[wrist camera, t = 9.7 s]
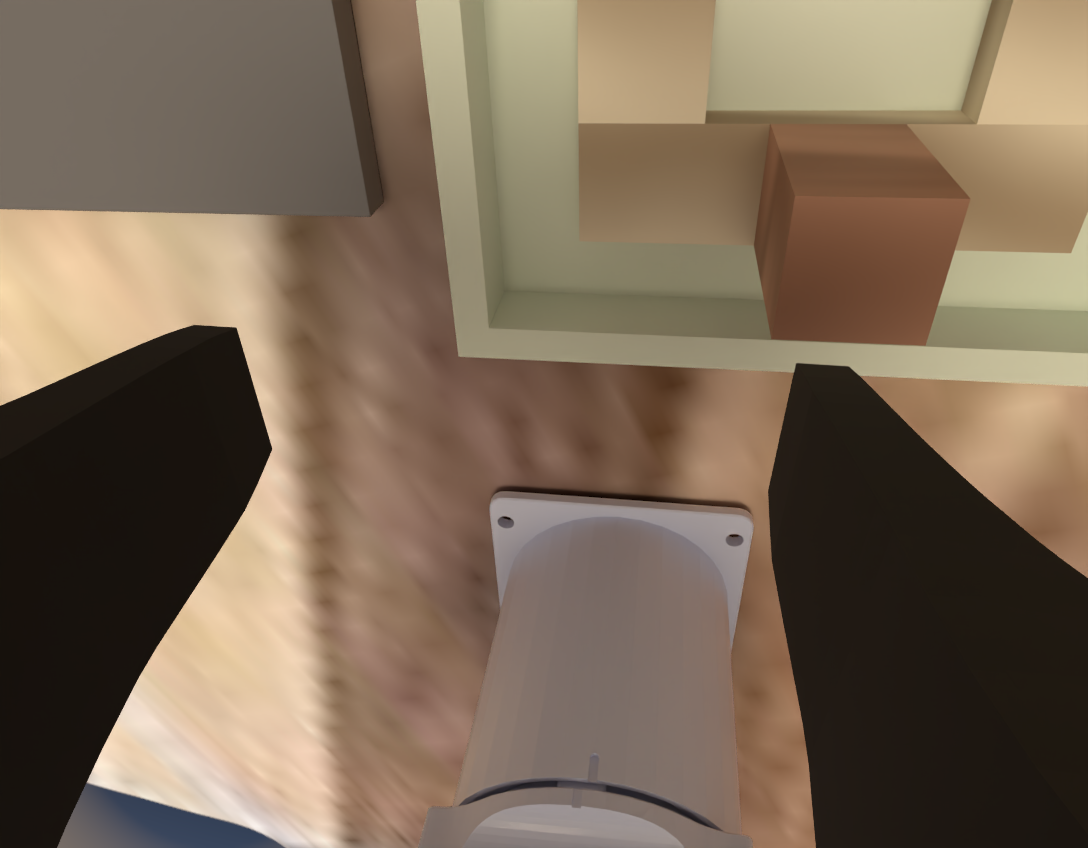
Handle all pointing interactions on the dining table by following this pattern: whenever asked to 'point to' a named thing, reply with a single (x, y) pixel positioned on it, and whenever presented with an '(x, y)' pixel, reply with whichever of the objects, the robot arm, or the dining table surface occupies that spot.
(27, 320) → the dining table surface
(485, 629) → the dining table surface
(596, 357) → the sage tray
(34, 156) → the stake board
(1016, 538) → the robot arm
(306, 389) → the dining table surface
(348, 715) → the dining table surface
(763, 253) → the tan square frame
